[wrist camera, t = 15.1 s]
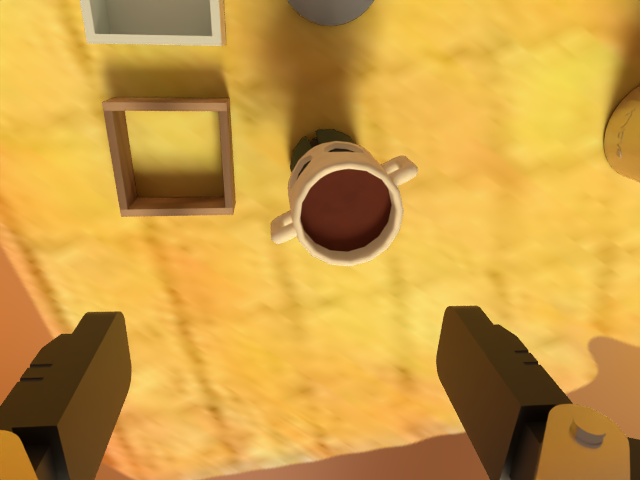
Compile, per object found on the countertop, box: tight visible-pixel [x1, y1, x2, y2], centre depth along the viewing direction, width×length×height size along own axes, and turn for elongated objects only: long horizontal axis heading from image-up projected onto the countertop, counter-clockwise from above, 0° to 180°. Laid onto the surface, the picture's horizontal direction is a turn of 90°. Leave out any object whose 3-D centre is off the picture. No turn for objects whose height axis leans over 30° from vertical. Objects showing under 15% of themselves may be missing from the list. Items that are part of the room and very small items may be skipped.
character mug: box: [271, 129, 417, 266], centre depth 35 cm, size 11×7×13 cm, turn 116°
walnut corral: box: [102, 97, 236, 217], centre depth 38 cm, size 9×9×3 cm
